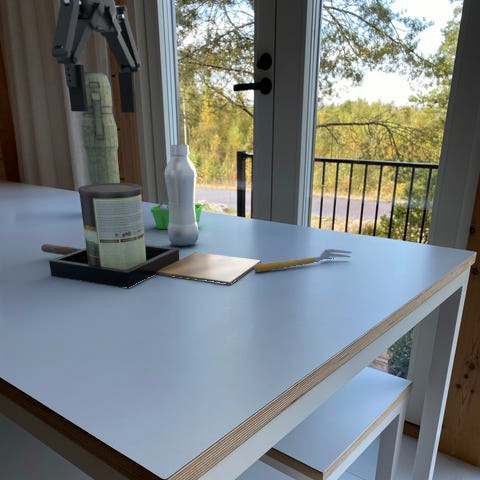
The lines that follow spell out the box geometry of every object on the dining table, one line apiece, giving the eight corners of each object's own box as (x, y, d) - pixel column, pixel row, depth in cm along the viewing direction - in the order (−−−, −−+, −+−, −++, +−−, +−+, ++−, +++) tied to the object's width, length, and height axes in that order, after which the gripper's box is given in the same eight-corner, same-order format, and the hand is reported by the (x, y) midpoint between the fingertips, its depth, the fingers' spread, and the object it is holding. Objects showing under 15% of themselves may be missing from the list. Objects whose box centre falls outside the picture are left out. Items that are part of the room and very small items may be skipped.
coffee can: (75, 273, 82) (64, 189, 76) (109, 257, 91) (101, 181, 85) (127, 279, 79) (119, 192, 73) (157, 263, 88) (152, 184, 82)
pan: (10, 269, 84) (7, 253, 83) (73, 248, 98) (71, 234, 97) (128, 288, 75) (127, 271, 74) (179, 262, 89) (179, 248, 87)
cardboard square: (156, 274, 82) (156, 271, 82) (195, 255, 94) (195, 252, 93) (230, 285, 77) (230, 282, 76) (261, 263, 89) (261, 260, 88)
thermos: (94, 219, 125) (77, 70, 111) (89, 211, 135) (73, 73, 121) (128, 217, 128) (115, 71, 114) (120, 209, 138) (108, 75, 124)
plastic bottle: (205, 243, 102) (203, 144, 94) (185, 250, 97) (181, 146, 89) (182, 239, 105) (178, 143, 97) (161, 246, 100) (155, 145, 92)
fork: (257, 265, 81) (352, 250, 89) (252, 260, 83) (346, 246, 90) (256, 278, 83) (349, 262, 90) (251, 273, 84) (343, 257, 92)
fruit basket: (150, 229, 114) (147, 181, 110) (162, 222, 122) (159, 177, 118) (196, 232, 112) (194, 182, 108) (205, 224, 120) (204, 178, 116)
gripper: (53, -71, 60) (75, 111, 69) (155, -22, 82) (162, 112, 90) (8, -64, 63) (34, 110, 71) (119, -18, 84) (129, 112, 93)
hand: (106, 112), depth 81 cm, fingers open, 13 cm apart
